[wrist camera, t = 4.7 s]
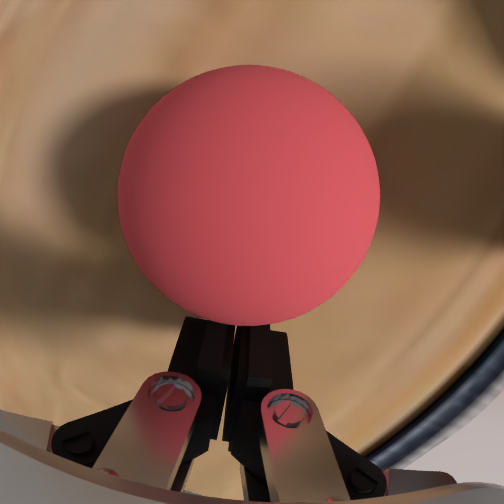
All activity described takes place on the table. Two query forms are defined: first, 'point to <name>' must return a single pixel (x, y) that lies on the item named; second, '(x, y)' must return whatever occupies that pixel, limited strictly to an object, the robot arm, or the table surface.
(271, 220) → the ball
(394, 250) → the table surface
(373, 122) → the table surface
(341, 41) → the table surface
